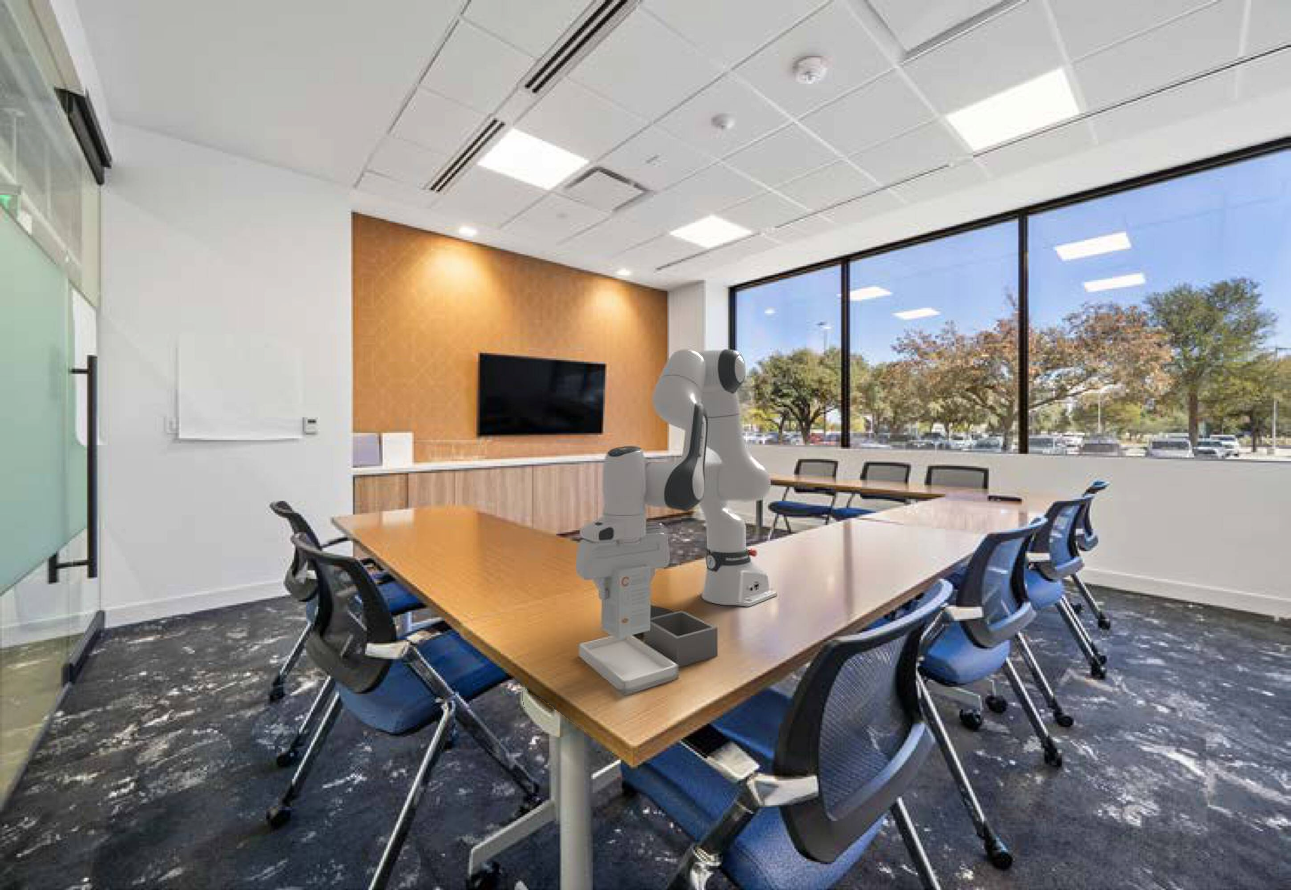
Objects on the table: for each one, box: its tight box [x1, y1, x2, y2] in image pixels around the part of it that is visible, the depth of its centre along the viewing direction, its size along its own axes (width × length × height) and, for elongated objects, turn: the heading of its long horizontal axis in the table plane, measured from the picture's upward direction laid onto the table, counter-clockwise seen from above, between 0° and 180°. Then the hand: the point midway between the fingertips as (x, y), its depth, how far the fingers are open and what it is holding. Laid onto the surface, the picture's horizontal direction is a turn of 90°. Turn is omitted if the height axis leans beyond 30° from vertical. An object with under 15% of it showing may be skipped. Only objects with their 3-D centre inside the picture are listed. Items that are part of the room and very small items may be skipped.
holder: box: [643, 610, 719, 668], centre depth 111 cm, size 11×13×6 cm
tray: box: [578, 635, 680, 696], centre depth 104 cm, size 12×20×2 cm, turn 32°
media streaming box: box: [632, 604, 676, 639], centre depth 127 cm, size 15×15×3 cm
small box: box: [600, 565, 652, 639], centre depth 103 cm, size 8×6×13 cm
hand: (624, 594), depth 103 cm, fingers closed on small box, 8 cm apart
